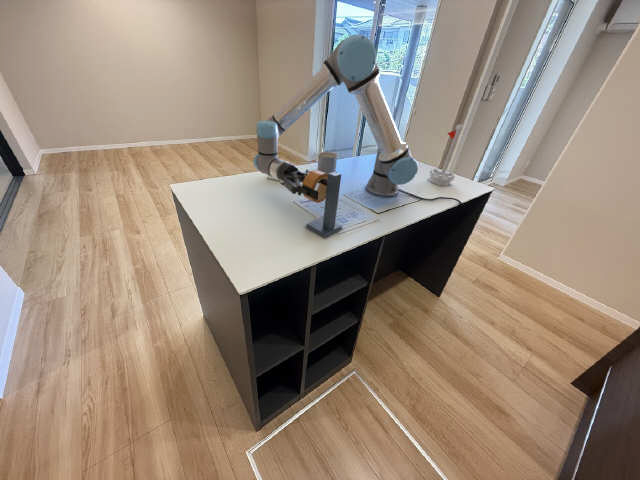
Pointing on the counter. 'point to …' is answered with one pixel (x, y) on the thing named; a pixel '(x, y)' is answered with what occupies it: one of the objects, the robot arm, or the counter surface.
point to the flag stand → (443, 176)
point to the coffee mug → (327, 162)
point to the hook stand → (328, 207)
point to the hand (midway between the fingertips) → (328, 191)
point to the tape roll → (312, 181)
